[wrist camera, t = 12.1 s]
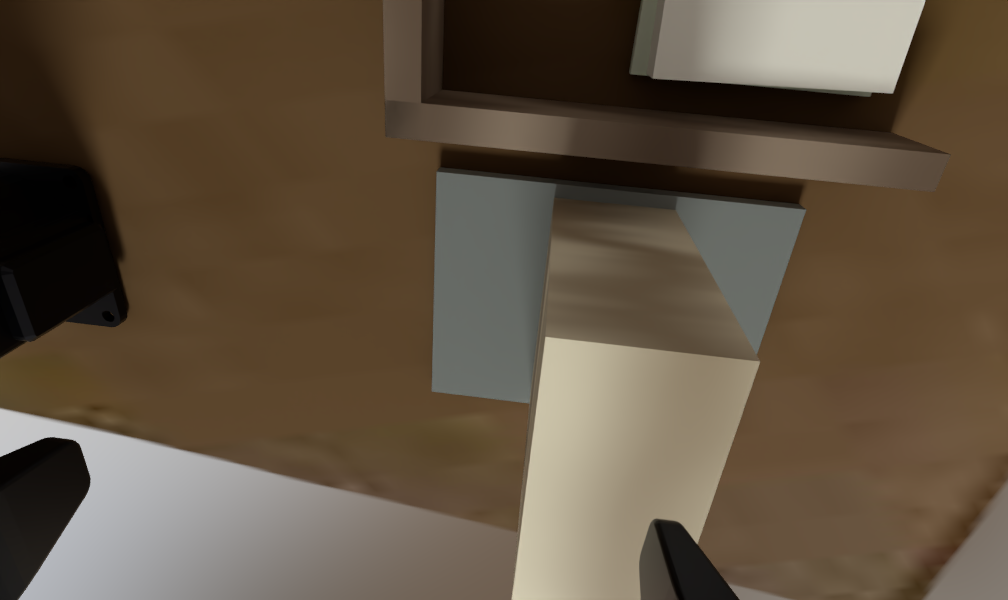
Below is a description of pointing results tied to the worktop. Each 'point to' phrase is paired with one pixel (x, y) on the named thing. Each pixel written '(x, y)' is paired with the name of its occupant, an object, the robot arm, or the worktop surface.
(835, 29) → the offcut upper
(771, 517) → the worktop surface
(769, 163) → the rack
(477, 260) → the mat
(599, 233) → the cream rectangular block
